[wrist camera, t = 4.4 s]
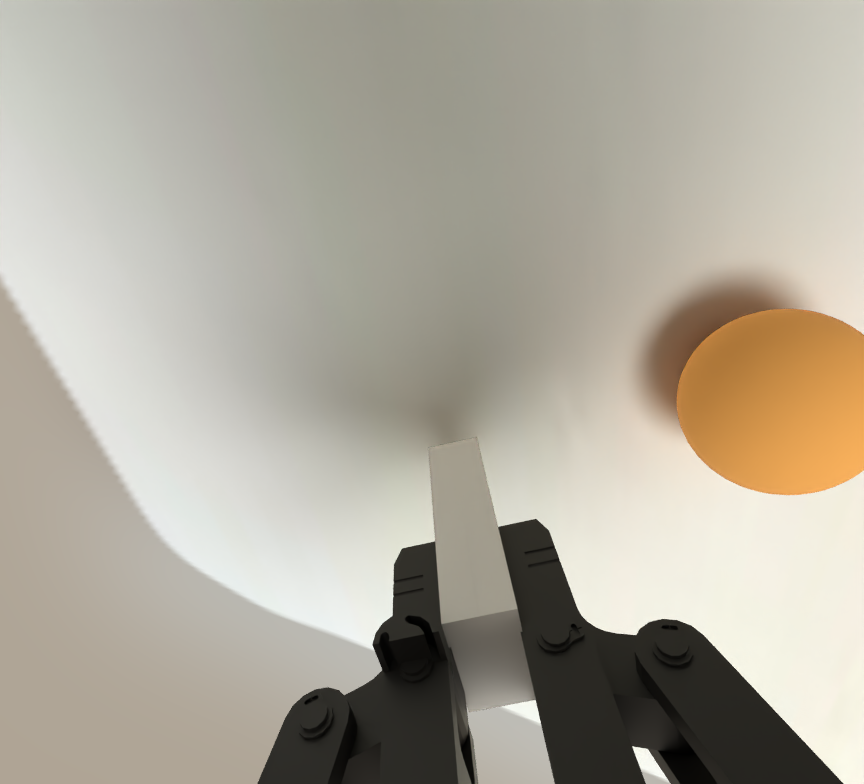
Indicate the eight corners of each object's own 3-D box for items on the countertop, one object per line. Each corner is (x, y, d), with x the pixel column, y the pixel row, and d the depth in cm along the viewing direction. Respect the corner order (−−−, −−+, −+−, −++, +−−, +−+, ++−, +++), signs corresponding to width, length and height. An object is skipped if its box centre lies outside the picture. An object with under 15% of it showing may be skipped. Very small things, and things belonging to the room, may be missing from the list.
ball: (618, 363, 19) (693, 448, 14) (762, 251, 17) (907, 301, 12) (700, 460, 20) (793, 567, 15) (837, 367, 19) (988, 452, 14)
